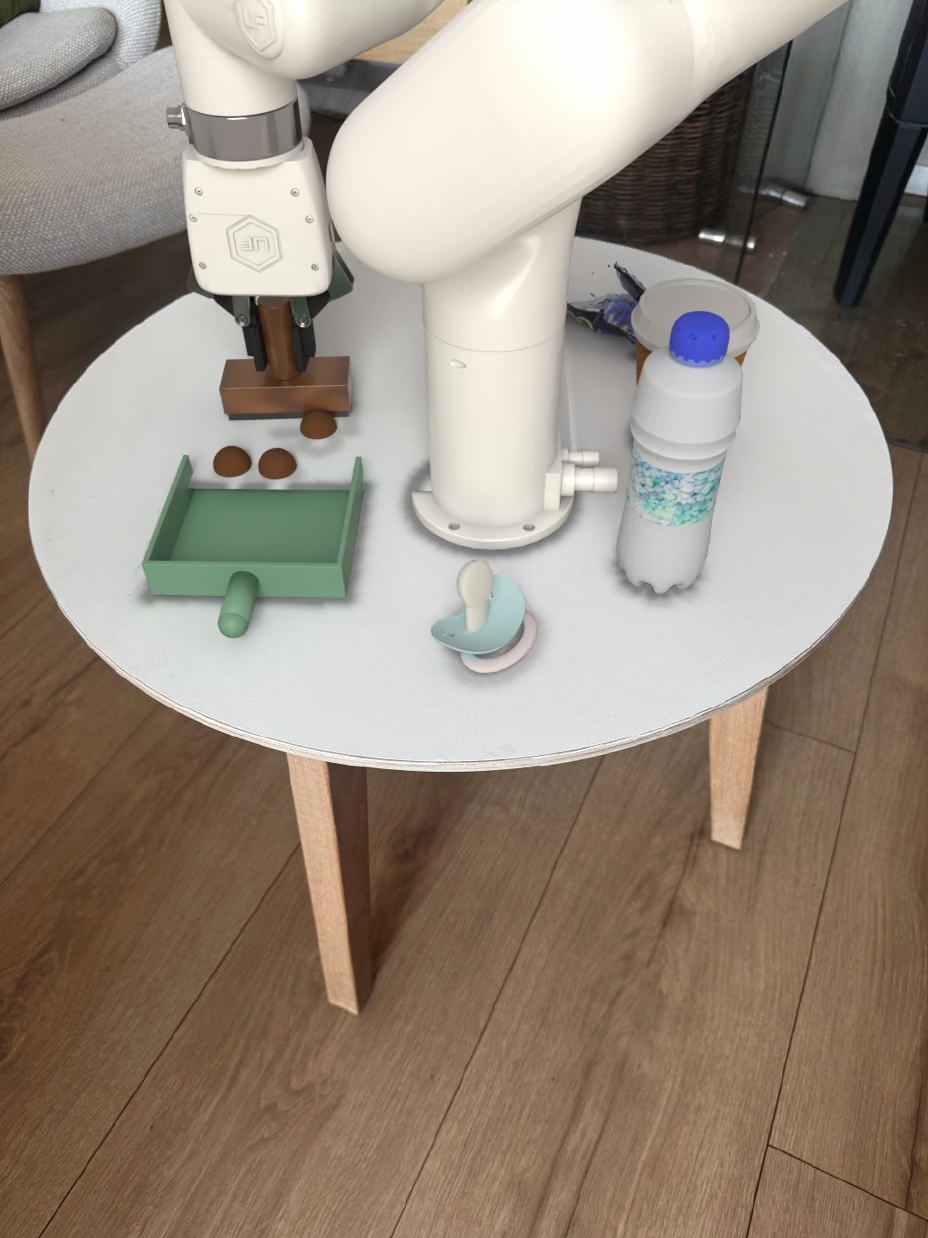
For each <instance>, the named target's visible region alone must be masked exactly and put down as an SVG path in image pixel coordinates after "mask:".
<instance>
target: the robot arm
mask: <svg viewBox="0 0 928 1238" xmlns="http://www.w3.org/2000/svg"><path fill="white" fill-rule="evenodd" d="M444 1H445V0H163V4H164V9H165V15H166V19H167V26H168V30H169V34H170V39H171V43H172V44H171V45H172V49H173V54H174V59H175V64H176V69H177V73H178V79H179V84H180V89H181V93H182V94H181V95H182V97H183V98H182V99H183V102H182V104H177V106H167V107H166V110H165V117H166V123H167V126H168V128H169V129H170V130H171V129H176V130H178V129H179V130H180V131H181V132H185V134H186V137H187V138H188V144H187V146H186V147H185V148H184V149H183V151H182V152H181V154H182V155H181V175H182V177H181V178H182V192H183V204H184V211H185V212H184V213H185V223H186V229H187V237H188V245H189V249H190V250H189V251H190V257H191V262H192V263H191V268H190V270H189V271H190V272H189V273H188V278H187V281H186V287H187V289H188V290H189V291H190V292H193V293H195V294H198V295H200V296H202V297H204V298H206V299H209V300H211V299H212V300H213V301H214V303H216V304H217V305H218V306H219V307H221V309H223V310H225V311H226V312H227V313H228V314H230V315H231V316H232V317H233V318H234V322H235V324H236V325H238V326H239V327H241V329H242V334H243V338H244V340H243V341H244V345H245V350H246V355H247V356H248V357H253V358H252V359H254V363H255V369H256V371H257V372H263V371H264V370H266V367H267V364H268V360H267V355H266V349H265V343H264V338H263V332H262V326H261V321H260V315H259V309H258V304H257V297H259V296H290V300H291V304H292V310H293V321H292V324H291V328H290V335H291V341H292V348H293V354H294V361H295V368H296V370H298V372H306V368H307V365H308V361H309V358H310V357H316V354H317V341H316V335H315V334H316V333H315V325H314V319H315V318H316V317H317V316H318V315H319V314H320V313H321V312H322V311H323V310H324V309H325V308H326V307H327V306H328V304H329V303H331V302H332V301H333V302H334V301H337V300H338V299H339V300H340V299H341V298H344V297H345V296H347V295H349V294H351V293H353V291H354V287H355V283H356V278H355V277H354V275H353V273H352V271H351V270H350V268H349V267H348V266H347V264H346V261H344V259H343V257H342V255H341V254H340V252H339V251H338V249H337V246H336V238H335V231H334V228H335V230H336V232H337V235H338V236H339V238H340V239H341V241H342V243H343V244H344V245H345V247H346V248H347V250H348V251H349V252H350V253H351V255H353V257H354V258H356V259H357V260H358V261H359V262H360V263H361V264H363V265H364V266H365V267H366V268H368V269H369V270H370V271H373V272H374V273H376V274H378V275H380V276H382V277H384V278H386V279H389V280H392V281H397V282H401V283H406V284H421V304H422V305H421V306H422V330H423V351H424V369H425V388H426V389H425V390H426V391H425V392H426V410H427V413H426V414H427V429H428V430H427V431H428V434H427V435H428V451H429V469H430V470H429V473H430V474H429V475H430V487H431V490H410V496H411V505H412V509H413V511H414V514H415V515H416V517H417V519H418V520H419V521H420V522H421V524H422V525H423V526H424V527H425V528H426V529H428V531H430V532H431V533H432V534H433V535H436V536H437V537H439V538H441V539H442V540H445V541H446V542H449V543H452V544H455V545H457V546H461V547H466V548H471V549H475V550H486V551H487V550H488V551H495V550H496V551H497V550H511V549H517V548H521V547H525V546H528V545H531V544H533V543H537V542H538V541H540V540H543V539H545V538H547V537H549V536H551V535H552V534H554V532H556V531H557V530H558V529H560V528H561V527H562V526H563V525H564V524H565V522H566V521H567V520H568V519H569V516H570V514H571V512H572V510H573V509H574V508H573V507H574V500H575V492H592V493H603V494H605V493H608V494H609V493H610V494H616V493H617V492H618V481H619V471H618V467H617V466H600V450H599V449H598V450H596V449H595V450H594V449H593V450H591V449H590V450H587V449H582V450H569V447H565V446H564V447H562V443H561V441H562V440H561V430H560V429H559V424H560V423H559V422H560V409H561V408H560V407H561V406H560V405H561V391H562V390H561V389H562V377H563V376H562V375H563V360H564V345H565V329H566V319H567V313H566V310H567V303H568V293H569V280H570V271H571V261H572V253H573V246H574V239H575V234H576V229H577V223H578V220H579V215H580V210H581V205H582V202H583V198H584V196H586V195H588V194H589V193H591V192H592V191H594V190H595V189H597V188H598V187H600V186H601V185H603V184H604V183H606V182H607V181H609V180H610V179H611V178H612V177H614V176H615V175H617V174H618V173H619V172H621V171H622V170H623V169H625V168H626V167H627V166H628V165H630V164H631V163H633V162H634V161H635V160H637V158H639V157H640V156H642V155H643V154H644V153H645V152H647V151H648V150H649V149H650V148H651V147H653V146H654V145H656V144H657V143H658V142H660V140H662V139H663V138H664V137H665V136H667V135H668V134H669V133H671V132H672V131H673V130H674V129H675V128H676V127H678V125H679V124H681V123H682V122H683V121H684V120H685V119H686V118H687V117H689V116H690V114H692V113H693V112H694V111H695V110H696V109H697V108H698V107H699V106H700V105H701V104H702V103H703V102H704V101H706V99H708V98H709V97H711V95H713V94H714V93H715V92H717V91H719V89H721V88H722V87H724V86H725V84H727V83H729V82H730V81H732V80H733V79H734V78H736V77H738V76H739V75H740V74H742V73H743V72H744V71H746V70H747V69H749V68H751V67H752V66H754V65H755V64H757V63H758V62H760V61H761V60H763V59H765V58H766V57H768V56H769V55H770V54H772V53H774V52H775V51H777V50H778V49H780V48H781V47H783V46H785V45H786V44H788V43H789V42H791V41H792V40H794V39H795V38H797V37H798V36H800V35H801V34H802V33H804V32H805V31H806V30H807V29H809V28H811V27H812V26H814V25H815V24H816V23H817V22H819V21H820V20H822V19H823V18H825V17H826V16H828V15H830V13H832V12H833V11H835V10H836V9H838V8H839V7H841V6H843V5H844V4H846V3H847V2H848V1H849V0H471V1H470V2H469V3H468V4H467V5H466V6H465V7H463V8H462V9H461V10H460V11H459V12H458V13H457V14H455V15H454V16H453V17H452V18H451V19H450V20H449V21H448V22H446V24H445V25H444V26H442V27H441V28H440V29H439V30H438V31H437V32H436V33H435V34H434V35H433V36H432V37H430V38H429V40H427V42H425V43H424V44H423V45H422V46H421V47H420V48H419V49H418V50H417V51H416V52H414V53H413V54H411V56H410V57H409V58H408V59H407V60H406V61H404V63H402V64H401V65H400V66H399V67H397V69H396V70H394V72H393V73H391V75H389V76H388V77H387V78H386V79H385V80H384V81H382V82H381V84H379V86H378V87H376V88H375V89H374V90H373V91H372V92H370V94H369V95H368V96H366V97H365V98H364V99H363V100H362V101H361V102H359V104H358V105H356V107H355V108H354V109H353V110H352V111H351V112H350V114H349V115H348V116H347V117H346V119H345V120H344V122H343V123H342V124H341V126H340V128H339V129H338V132H337V133H336V136H335V137H334V140H333V142H332V145H331V148H330V151H329V155H328V158H327V159H328V160H327V166H326V173H325V174H326V175H325V181H324V176H323V173H322V169H321V166H320V163H319V158H318V156H317V153H316V149H315V147H314V144H313V141H312V139H311V138H309V137H308V136H303V128H302V120H301V111H300V103H299V96H298V87H297V80H305V79H309V78H313V77H316V76H318V75H320V74H323V73H325V72H327V71H330V70H332V69H335V68H336V67H338V66H340V65H342V64H344V63H347V62H349V61H351V60H352V59H354V58H355V57H358V56H360V55H362V54H365V53H366V52H368V51H371V50H372V49H374V48H377V47H378V46H381V45H383V44H385V43H388V42H390V41H392V40H394V39H395V40H396V39H397V38H398V37H400V36H404V35H405V34H406V33H408V32H410V31H411V30H413V29H414V28H415V27H418V25H420V24H421V23H422V22H423V21H424V20H426V18H428V17H429V16H430V15H431V14H432V13H433V12H434V11H436V10H437V9H438V8H439V7H440V5H441V4H443V3H444Z"/></svg>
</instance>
